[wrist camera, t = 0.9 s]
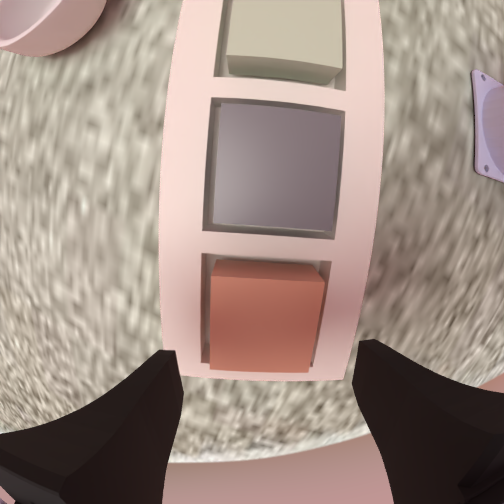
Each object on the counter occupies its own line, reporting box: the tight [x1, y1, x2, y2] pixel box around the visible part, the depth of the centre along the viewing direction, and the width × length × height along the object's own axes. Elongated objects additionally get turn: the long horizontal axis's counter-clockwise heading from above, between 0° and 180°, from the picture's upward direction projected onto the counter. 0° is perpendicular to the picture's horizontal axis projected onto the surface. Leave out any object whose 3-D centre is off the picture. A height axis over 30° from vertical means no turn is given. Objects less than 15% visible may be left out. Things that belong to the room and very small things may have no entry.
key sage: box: [226, 0, 342, 84], centre depth 11 cm, size 5×5×2 cm
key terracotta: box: [210, 259, 325, 373], centre depth 14 cm, size 5×5×2 cm
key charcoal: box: [213, 103, 341, 231], centre depth 12 cm, size 5×5×2 cm
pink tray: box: [159, 0, 384, 381], centre depth 14 cm, size 10×22×3 cm, turn 176°
